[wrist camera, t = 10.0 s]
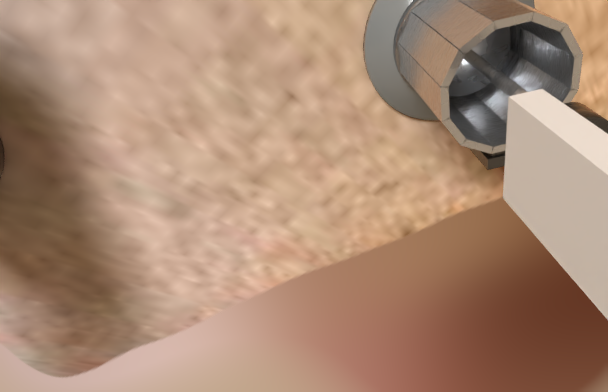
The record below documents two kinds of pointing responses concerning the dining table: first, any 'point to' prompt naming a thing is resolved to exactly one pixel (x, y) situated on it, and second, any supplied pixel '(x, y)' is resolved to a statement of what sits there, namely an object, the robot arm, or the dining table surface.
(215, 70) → the dining table surface
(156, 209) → the dining table surface
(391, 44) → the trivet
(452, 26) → the faceted metal cup
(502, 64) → the plunger
